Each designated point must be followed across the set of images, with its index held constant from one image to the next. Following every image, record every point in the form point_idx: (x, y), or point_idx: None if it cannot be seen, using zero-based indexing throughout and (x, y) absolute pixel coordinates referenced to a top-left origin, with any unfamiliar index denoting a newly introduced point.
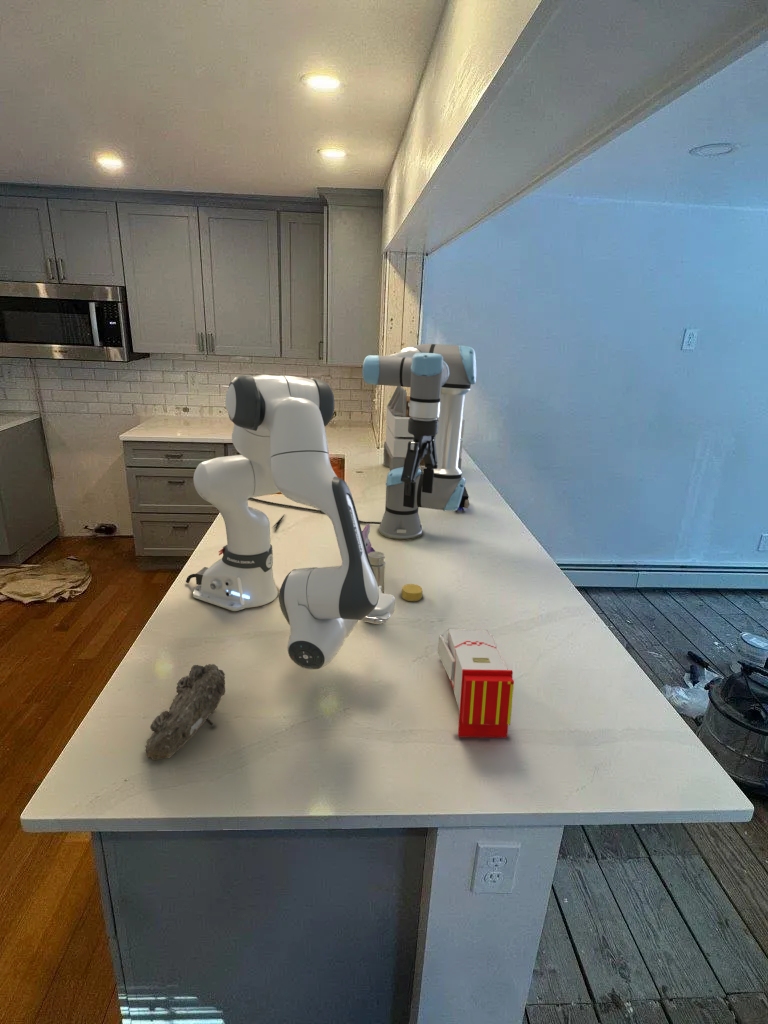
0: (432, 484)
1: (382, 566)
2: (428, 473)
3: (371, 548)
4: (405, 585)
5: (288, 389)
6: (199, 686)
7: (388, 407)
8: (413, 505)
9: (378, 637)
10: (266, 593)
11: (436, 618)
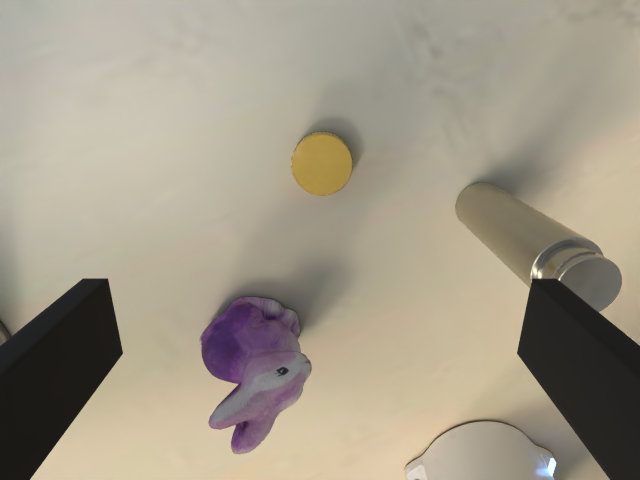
0: (44, 322)
1: (586, 239)
2: None
3: (226, 354)
4: (313, 191)
5: None
6: None
7: None
8: (564, 288)
9: (562, 157)
10: (508, 444)
11: (412, 47)
